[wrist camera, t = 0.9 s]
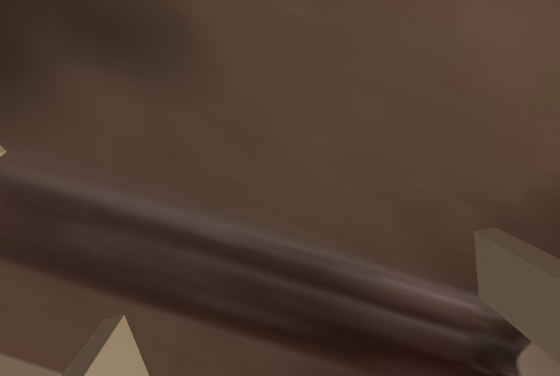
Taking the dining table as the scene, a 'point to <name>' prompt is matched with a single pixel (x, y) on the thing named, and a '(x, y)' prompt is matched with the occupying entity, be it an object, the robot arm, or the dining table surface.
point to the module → (2, 150)
